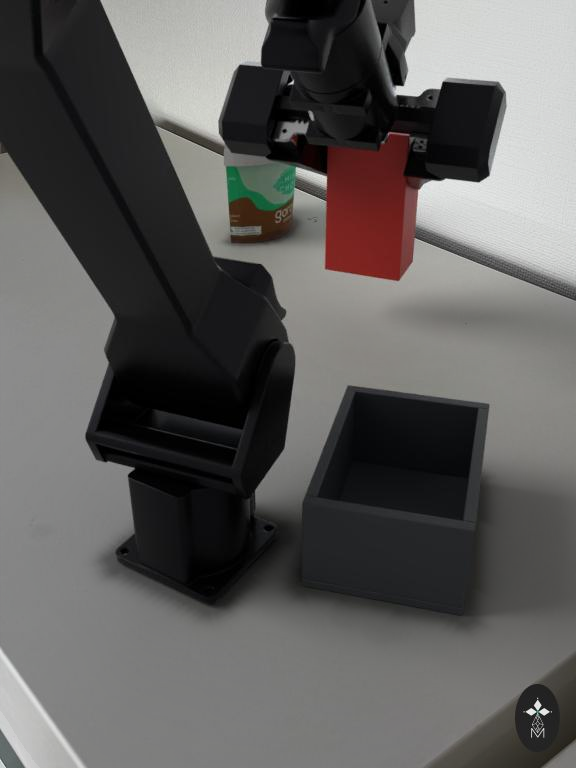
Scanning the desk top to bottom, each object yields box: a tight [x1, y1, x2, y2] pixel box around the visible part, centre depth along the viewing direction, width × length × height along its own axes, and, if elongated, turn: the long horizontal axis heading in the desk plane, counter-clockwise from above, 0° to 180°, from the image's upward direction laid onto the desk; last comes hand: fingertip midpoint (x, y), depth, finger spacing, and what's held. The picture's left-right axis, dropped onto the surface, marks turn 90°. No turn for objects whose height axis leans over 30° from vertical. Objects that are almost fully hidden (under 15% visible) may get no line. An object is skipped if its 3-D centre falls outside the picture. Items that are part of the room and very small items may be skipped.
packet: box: [324, 132, 419, 282], centre depth 65 cm, size 4×6×11 cm, turn 68°
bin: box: [301, 384, 490, 616], centre depth 47 cm, size 11×8×6 cm
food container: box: [223, 141, 297, 244], centre depth 85 cm, size 12×6×10 cm, turn 168°
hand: (379, 178), depth 66 cm, fingers closed on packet, 6 cm apart
